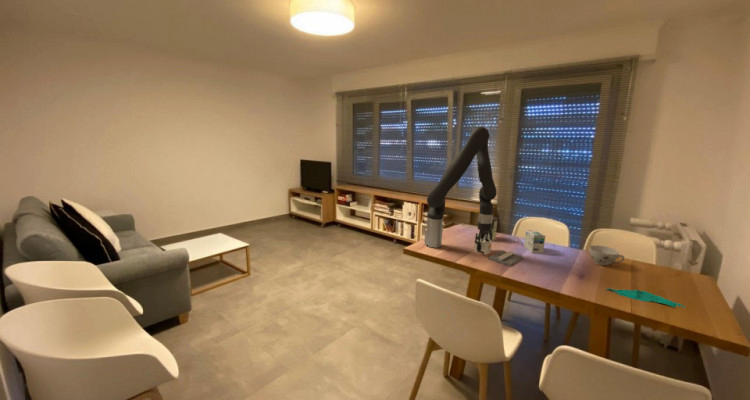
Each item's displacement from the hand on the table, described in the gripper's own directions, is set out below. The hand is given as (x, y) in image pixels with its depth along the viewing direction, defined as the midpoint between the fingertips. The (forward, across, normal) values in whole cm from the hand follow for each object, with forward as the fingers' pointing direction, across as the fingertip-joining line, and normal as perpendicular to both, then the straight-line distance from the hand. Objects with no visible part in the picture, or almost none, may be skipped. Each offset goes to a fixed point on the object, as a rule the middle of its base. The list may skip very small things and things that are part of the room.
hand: (482, 248), depth 179 cm
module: (+2, 0, 0) cm, 2 cm away
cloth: (+3, -6, +71) cm, 71 cm away
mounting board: (+2, 0, +14) cm, 14 cm away
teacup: (+2, -34, +51) cm, 61 cm away
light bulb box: (+2, -26, +18) cm, 32 cm away
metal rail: (+2, 0, +14) cm, 14 cm away
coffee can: (+2, -24, -10) cm, 26 cm away
